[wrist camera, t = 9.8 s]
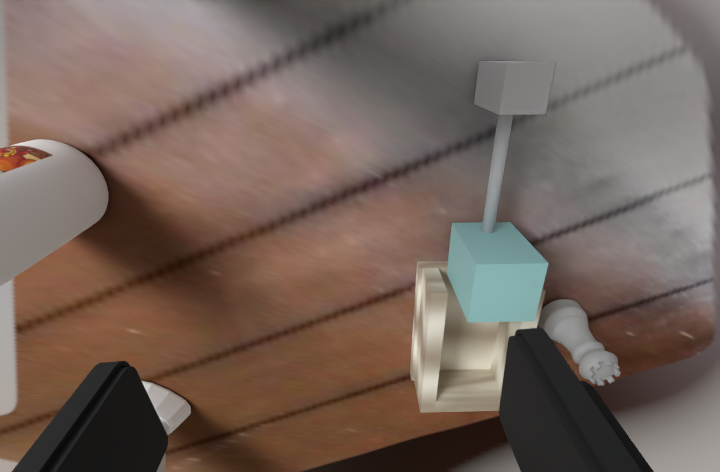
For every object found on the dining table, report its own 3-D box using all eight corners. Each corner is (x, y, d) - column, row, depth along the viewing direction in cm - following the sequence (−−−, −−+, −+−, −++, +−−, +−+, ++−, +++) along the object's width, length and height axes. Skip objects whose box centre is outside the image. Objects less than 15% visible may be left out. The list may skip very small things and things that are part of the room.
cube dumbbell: (465, 61, 28) (505, 64, 20) (533, 60, 28) (597, 63, 20) (443, 266, 35) (467, 322, 28) (496, 265, 35) (534, 321, 28)
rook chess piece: (528, 309, 38) (569, 370, 31) (571, 288, 37) (623, 345, 30) (545, 338, 40) (588, 401, 32) (586, 318, 39) (639, 379, 31)
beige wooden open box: (417, 261, 35) (427, 293, 31) (523, 259, 35) (549, 291, 31) (410, 371, 41) (417, 412, 37) (500, 369, 42) (519, 410, 37)
